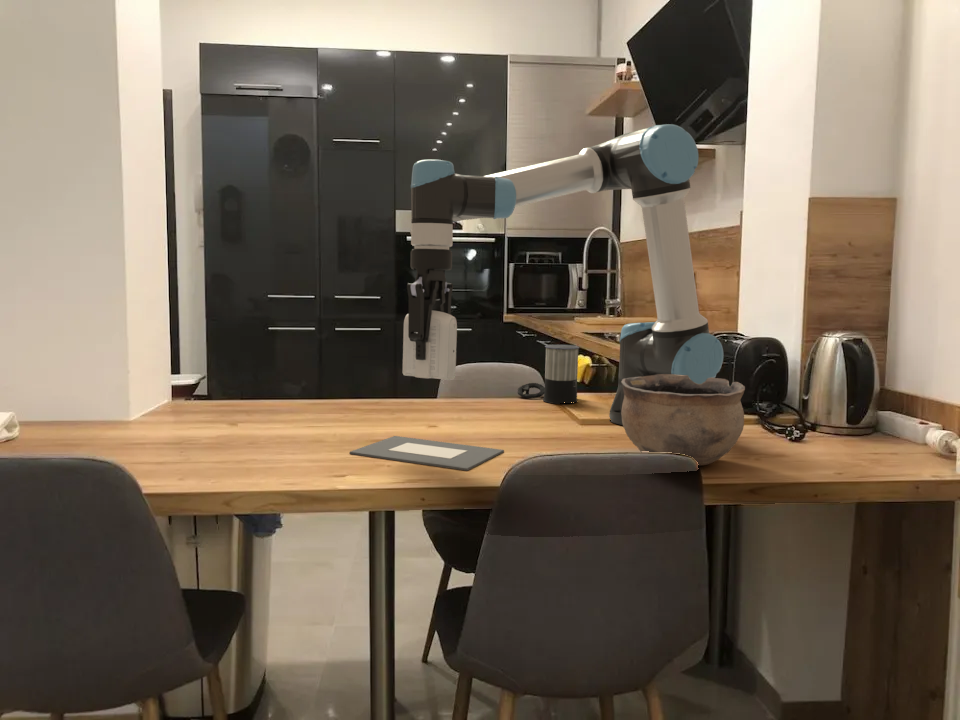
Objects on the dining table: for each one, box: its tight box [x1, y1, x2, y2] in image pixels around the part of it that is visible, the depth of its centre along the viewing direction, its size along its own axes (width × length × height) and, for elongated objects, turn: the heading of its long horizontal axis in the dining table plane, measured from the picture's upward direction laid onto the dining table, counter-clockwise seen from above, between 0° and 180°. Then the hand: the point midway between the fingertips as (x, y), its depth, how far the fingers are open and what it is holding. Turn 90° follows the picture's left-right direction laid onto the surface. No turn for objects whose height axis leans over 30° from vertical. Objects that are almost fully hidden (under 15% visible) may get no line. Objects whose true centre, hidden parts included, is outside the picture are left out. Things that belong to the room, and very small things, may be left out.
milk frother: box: [517, 344, 580, 405], centre depth 208 cm, size 14×16×15 cm
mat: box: [349, 435, 505, 471], centre depth 146 cm, size 24×16×1 cm, turn 65°
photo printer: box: [402, 310, 458, 381], centre depth 143 cm, size 10×4×12 cm, turn 67°
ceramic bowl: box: [621, 374, 746, 466], centre depth 142 cm, size 22×22×15 cm
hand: (429, 375), depth 144 cm, fingers closed on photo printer, 4 cm apart
